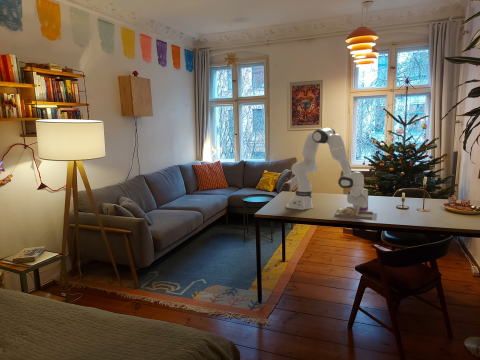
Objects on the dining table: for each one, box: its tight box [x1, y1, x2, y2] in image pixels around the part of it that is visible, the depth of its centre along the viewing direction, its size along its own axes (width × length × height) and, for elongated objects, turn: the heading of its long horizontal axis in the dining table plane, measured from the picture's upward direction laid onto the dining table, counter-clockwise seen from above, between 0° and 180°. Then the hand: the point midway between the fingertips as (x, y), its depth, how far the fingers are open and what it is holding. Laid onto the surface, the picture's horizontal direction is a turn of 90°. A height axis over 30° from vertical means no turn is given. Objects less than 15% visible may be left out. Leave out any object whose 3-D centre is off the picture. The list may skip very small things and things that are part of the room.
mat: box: [332, 209, 378, 221], centre depth 253 cm, size 30×20×2 cm, turn 66°
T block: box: [337, 206, 358, 216], centre depth 253 cm, size 12×12×5 cm
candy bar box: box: [352, 188, 369, 211], centre depth 269 cm, size 11×5×16 cm, turn 105°
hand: (356, 211), depth 252 cm, fingers closed
